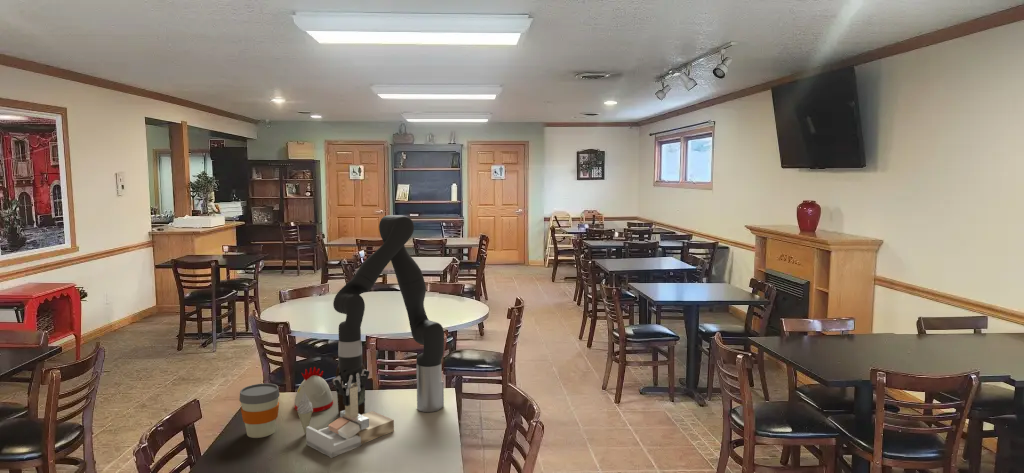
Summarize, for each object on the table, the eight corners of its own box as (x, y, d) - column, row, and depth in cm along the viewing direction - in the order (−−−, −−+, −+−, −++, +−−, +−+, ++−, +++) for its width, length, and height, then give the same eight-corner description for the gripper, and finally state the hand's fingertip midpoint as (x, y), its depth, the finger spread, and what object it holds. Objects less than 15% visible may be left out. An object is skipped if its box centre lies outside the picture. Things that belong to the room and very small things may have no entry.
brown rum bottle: (331, 412, 224) (329, 346, 222) (357, 405, 231) (355, 340, 229) (345, 421, 217) (344, 352, 214) (371, 413, 224) (370, 346, 221)
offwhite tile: (351, 426, 202) (349, 421, 201) (360, 430, 198) (358, 425, 198) (339, 435, 198) (337, 430, 197) (348, 439, 195) (346, 434, 194)
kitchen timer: (289, 404, 232) (287, 366, 230) (324, 396, 241) (323, 359, 239) (303, 415, 221) (301, 375, 220) (338, 406, 230) (338, 368, 229)
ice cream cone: (297, 438, 202) (295, 394, 201) (298, 431, 207) (297, 389, 206) (313, 436, 204) (311, 393, 202) (314, 430, 208) (312, 387, 207)
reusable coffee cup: (266, 441, 200) (265, 397, 198) (232, 438, 202) (230, 394, 201) (288, 426, 212) (286, 384, 210) (255, 423, 214) (254, 381, 213)
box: (336, 433, 206) (335, 416, 205) (360, 445, 197) (360, 428, 196) (306, 444, 197) (306, 426, 197) (331, 457, 188) (330, 439, 188)
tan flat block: (372, 421, 216) (372, 411, 215) (393, 431, 208) (393, 419, 208) (338, 434, 205) (338, 423, 205) (359, 444, 197) (359, 432, 197)
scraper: (347, 417, 208) (346, 380, 206) (369, 427, 200) (368, 388, 199) (337, 421, 205) (336, 383, 203) (358, 430, 197) (357, 392, 196)
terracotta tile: (342, 421, 205) (340, 416, 205) (350, 425, 202) (349, 420, 201) (329, 430, 202) (328, 424, 201) (338, 434, 198) (336, 429, 198)
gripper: (338, 360, 192) (339, 413, 194) (374, 350, 202) (375, 400, 204) (324, 355, 197) (326, 407, 198) (361, 346, 207) (362, 395, 209)
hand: (351, 403), depth 201 cm, fingers closed on scraper, 3 cm apart
